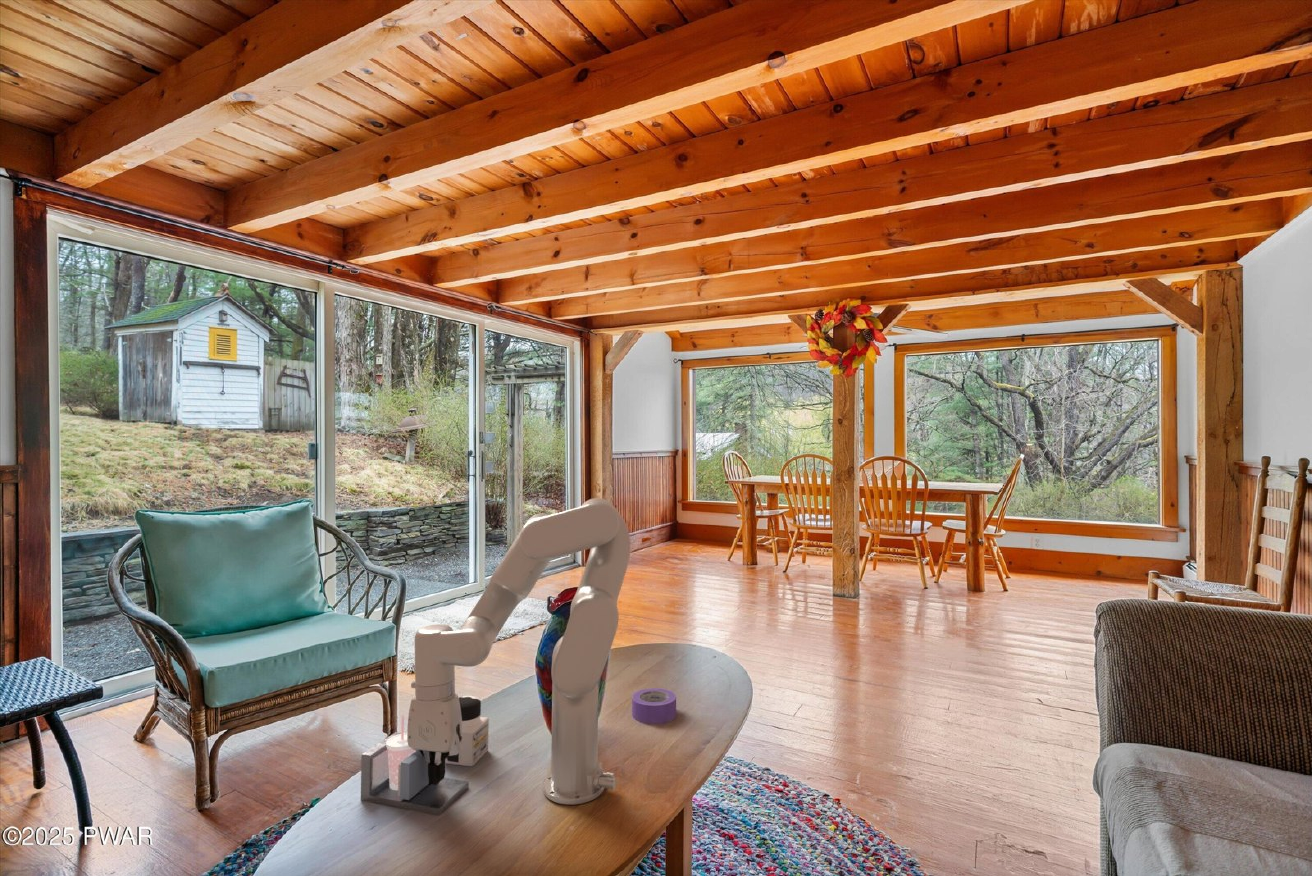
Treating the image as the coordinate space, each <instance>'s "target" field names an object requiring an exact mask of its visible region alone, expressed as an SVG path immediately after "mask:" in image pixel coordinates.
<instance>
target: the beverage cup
mask: <svg viewBox="0 0 1312 876" xmlns="http://www.w3.org/2000/svg"><path fill="white" fill-rule="evenodd" d="M400 726H401V731H400V733H401V734H398V735H395V736H393V737H391V738H389V739H388V740H387V742H386V747H387V749H388V764H389V785H390V788H391V789H392V790H398V767H399V764H400V763H401V762H402V761H403V760H405V759H406V758H407V757H409V756H410V755H411V754H413V753H414V752H416V751H415V750H413V749H412V748H410V747H409V746H408V743H407V732H406V733H405V714H401V725H400Z"/></svg>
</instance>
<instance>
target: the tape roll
mask: <svg viewBox="0 0 1312 876" xmlns="http://www.w3.org/2000/svg"><path fill="white" fill-rule="evenodd" d="M631 716H633V717H632V718H633V719H634V720H635V721H637V722H638V721H639V722H638V723H641V724H645V725H663V724H667V723H669V722H668V721H670V720H672V721H674V720H675V719H674V718H676V717H677V695H676V693H674V692H673V691H671V690H669V689H665V688H658V687H655V688H653V687H650V688H644V689H639V690H637V691H636V692H634V693H633V694H632V696H631ZM675 716H676V717H675ZM666 722H667V723H666ZM670 722H671V721H670Z"/></svg>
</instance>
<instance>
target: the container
mask: <svg viewBox="0 0 1312 876" xmlns="http://www.w3.org/2000/svg"><path fill="white" fill-rule="evenodd" d="M458 698H459V703H460V708H461V716H462V741H461V742H460V746H461V752H459V753H458V754H457V755H452V756H448V757H447V758H446V759H445V765H446V764H448V765H456V766H465V767H473V766H474V765H476V763H477V762H478V761H479V760H480V759H481V758H482V757H483V756H484V755H485V754H486V753H487V752H488V751H489V725H490V724H489V723H490V722H489V717H487V716H486V717H485V716H482V715H481V714H482V713H481V712H482V700H481V699H480V698H479V697H477V696H475V695H464V696H463V695H462V696H460V697H459V696H458Z"/></svg>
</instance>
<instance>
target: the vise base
mask: <svg viewBox="0 0 1312 876" xmlns="http://www.w3.org/2000/svg"><path fill="white" fill-rule="evenodd" d="M398 734H401V732H397V731H396V732H394V733H392V734H391V735H389V736H388V737H386V738H384V739H383V740H381V741H380V742H379V743H378V742H377V744H375V745H373V746H372V747H370V748H369V749H368V750H365V752H363V753H361V757H360V759H361V763H360V764H361V766H360V770H361V771H360V801H364V802H369V803H374V804H379V805H384V806H385V805H386V806H389V807H395V808H399V809H400V808H401V809H405V810H411V811H415V812H420V813H425V814H431V815H436V816H440V815H441V814H442V813H443V812H444V811H445V810H446V809H447V808H449V807H450V805H452V804H453V803H454V802H455V801H456V800H457V799H458V798H460V796H461V795H463V794H464V793H465V792H466V791H467V790H468V789H469V786H470V784H469V783H470V782H469V781H465V780H460V779H454V778H449V777H444V778H443V779H442V780H441V781H440V782H439V783H438V784H437V785H433V784H428V785H427V786H425V787H424V788H423V789H422V790H420V791H419V792H418V793H417V794H416V795H414V796H413V797H412V798H411V799H410V800H406V799H400V796H398V790H392V789H391V788H390V785H389V764H388V749H387V747H386V742H387V740H388V739H389V738H391V737H393V736H395V735H398Z"/></svg>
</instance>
